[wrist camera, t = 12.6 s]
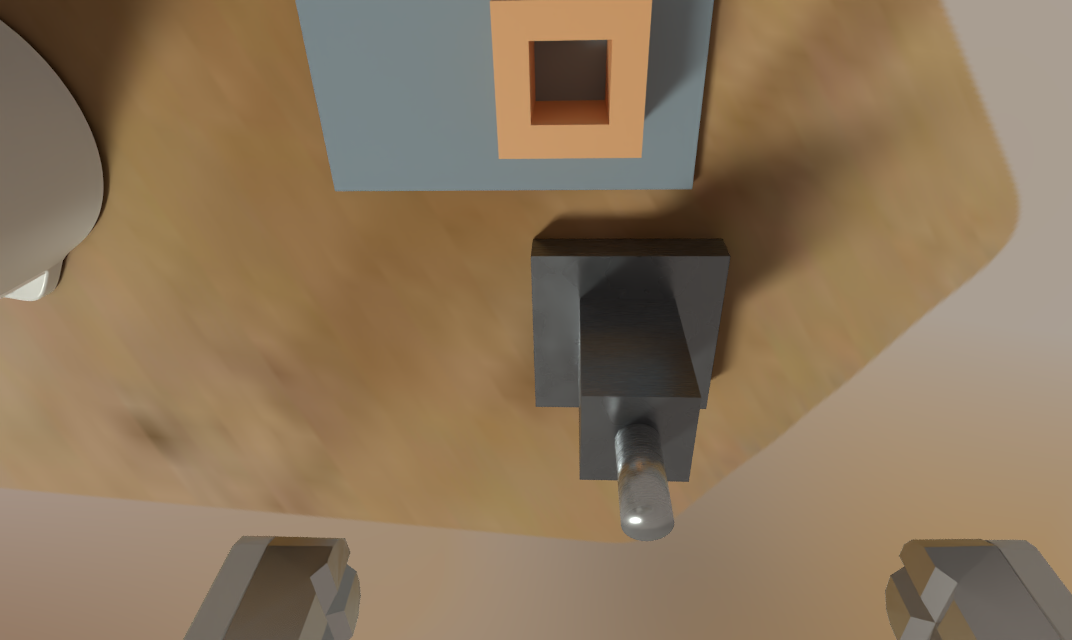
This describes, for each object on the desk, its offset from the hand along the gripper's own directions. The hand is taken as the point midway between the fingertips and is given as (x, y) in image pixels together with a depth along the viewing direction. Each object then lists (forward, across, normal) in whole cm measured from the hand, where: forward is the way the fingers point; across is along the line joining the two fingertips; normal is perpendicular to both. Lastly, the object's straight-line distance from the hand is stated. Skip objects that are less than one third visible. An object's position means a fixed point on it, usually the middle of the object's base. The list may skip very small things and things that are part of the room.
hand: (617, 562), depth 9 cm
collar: (+24, 0, -2) cm, 24 cm away
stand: (+24, -2, +12) cm, 27 cm away
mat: (+25, +3, -2) cm, 25 cm away
